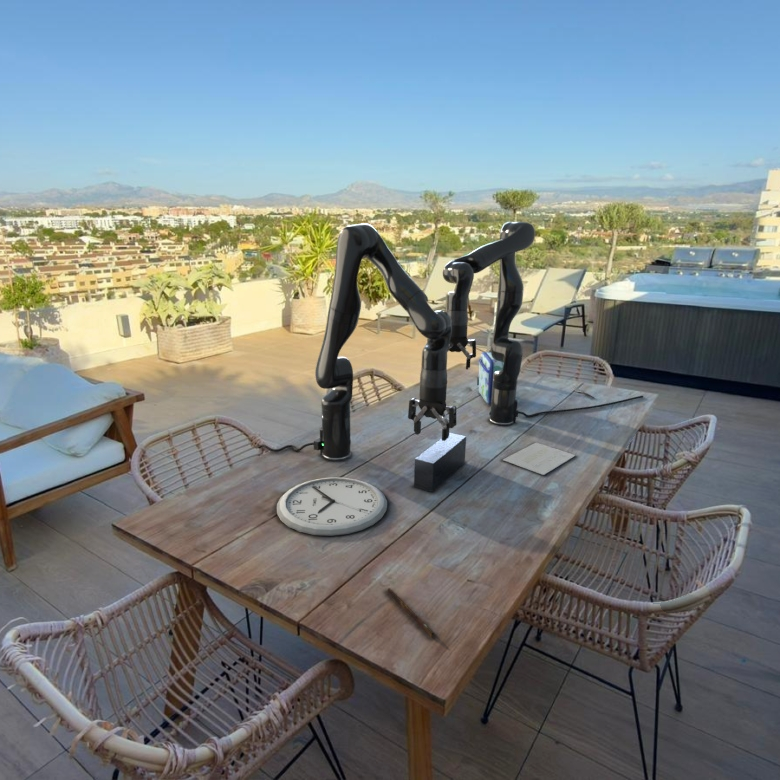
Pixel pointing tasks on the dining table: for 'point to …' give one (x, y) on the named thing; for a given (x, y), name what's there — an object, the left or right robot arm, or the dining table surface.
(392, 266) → the left robot arm
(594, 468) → the dining table surface
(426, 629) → the dark brown stick
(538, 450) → the invitation card
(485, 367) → the lunch box
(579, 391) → the fork
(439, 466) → the bar
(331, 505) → the wall clock
